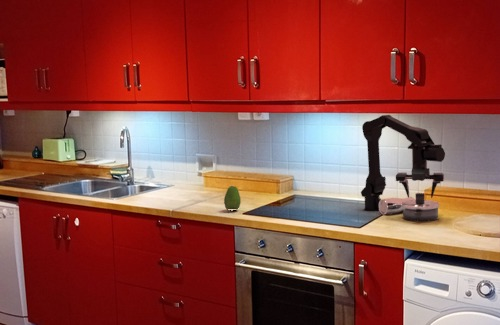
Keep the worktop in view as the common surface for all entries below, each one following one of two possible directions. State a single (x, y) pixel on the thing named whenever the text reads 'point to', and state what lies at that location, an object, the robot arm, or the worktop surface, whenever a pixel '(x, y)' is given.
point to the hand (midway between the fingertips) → (420, 197)
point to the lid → (420, 203)
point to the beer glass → (392, 205)
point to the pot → (420, 215)
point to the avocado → (232, 198)
